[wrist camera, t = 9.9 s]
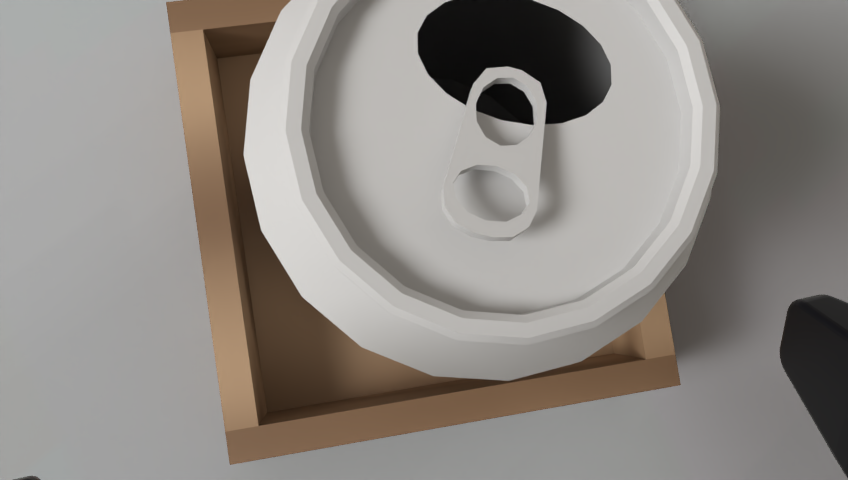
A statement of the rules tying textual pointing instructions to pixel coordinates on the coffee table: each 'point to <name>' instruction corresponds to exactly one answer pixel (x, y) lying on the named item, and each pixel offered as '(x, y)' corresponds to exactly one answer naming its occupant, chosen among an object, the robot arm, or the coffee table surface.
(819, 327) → the robot arm
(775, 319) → the coffee table surface
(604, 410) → the coffee table surface
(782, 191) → the coffee table surface
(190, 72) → the tray
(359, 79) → the can
